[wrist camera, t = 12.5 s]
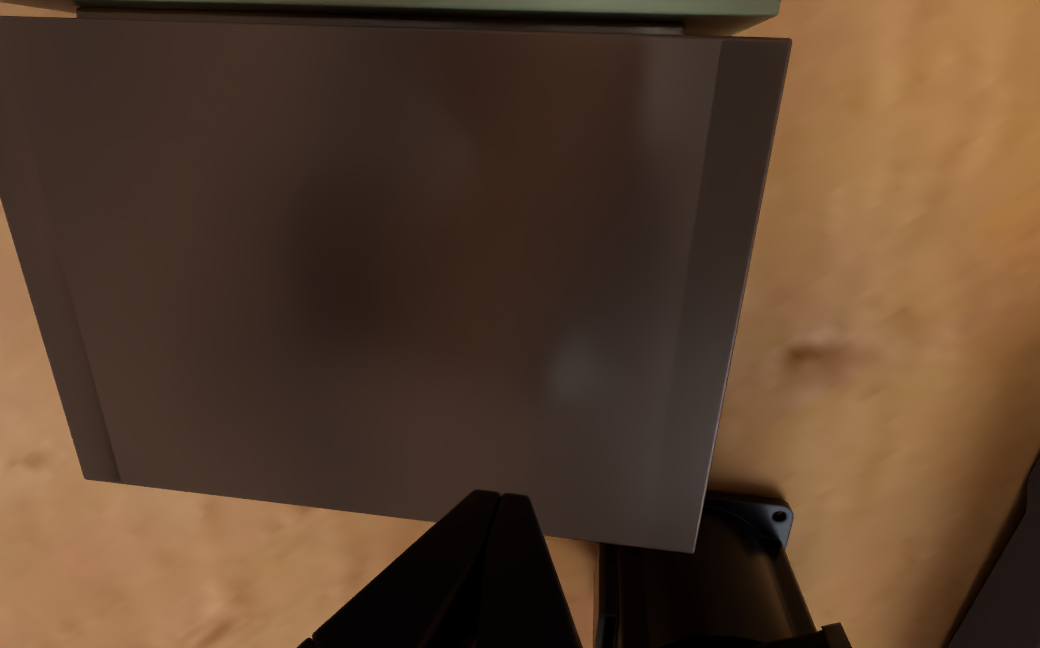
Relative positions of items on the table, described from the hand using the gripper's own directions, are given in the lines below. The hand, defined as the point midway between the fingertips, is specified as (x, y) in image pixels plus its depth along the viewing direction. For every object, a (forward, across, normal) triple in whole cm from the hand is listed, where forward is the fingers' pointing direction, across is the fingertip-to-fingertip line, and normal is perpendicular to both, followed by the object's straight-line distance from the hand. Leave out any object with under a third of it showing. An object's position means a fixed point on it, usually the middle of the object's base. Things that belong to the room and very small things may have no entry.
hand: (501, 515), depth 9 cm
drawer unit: (+12, +3, -2) cm, 13 cm away
